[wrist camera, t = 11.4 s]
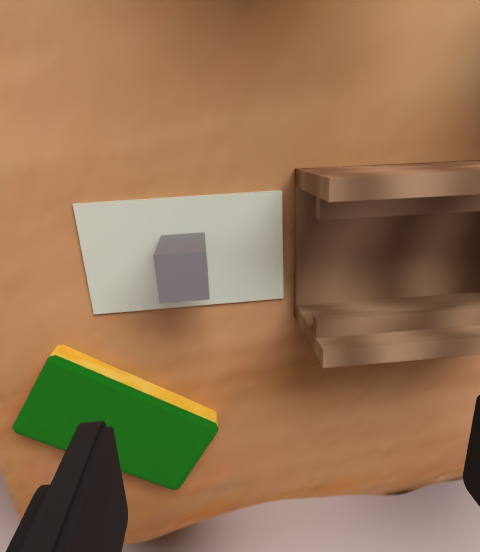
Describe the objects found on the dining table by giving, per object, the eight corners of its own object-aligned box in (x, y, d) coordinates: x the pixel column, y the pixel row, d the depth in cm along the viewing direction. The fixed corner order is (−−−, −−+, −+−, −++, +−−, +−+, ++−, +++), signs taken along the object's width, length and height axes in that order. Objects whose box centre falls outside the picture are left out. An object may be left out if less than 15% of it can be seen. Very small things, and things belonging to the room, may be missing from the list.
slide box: (515, 158, 28) (621, 164, 21) (489, 300, 32) (572, 346, 25) (295, 168, 27) (329, 178, 20) (294, 315, 30) (322, 368, 23)
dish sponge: (178, 469, 35) (177, 492, 32) (23, 410, 31) (9, 431, 29) (218, 408, 33) (220, 428, 31) (60, 339, 30) (48, 356, 27)
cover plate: (279, 189, 28) (299, 201, 22) (281, 294, 30) (299, 328, 25) (76, 202, 27) (44, 218, 21) (96, 310, 29) (73, 349, 24)
